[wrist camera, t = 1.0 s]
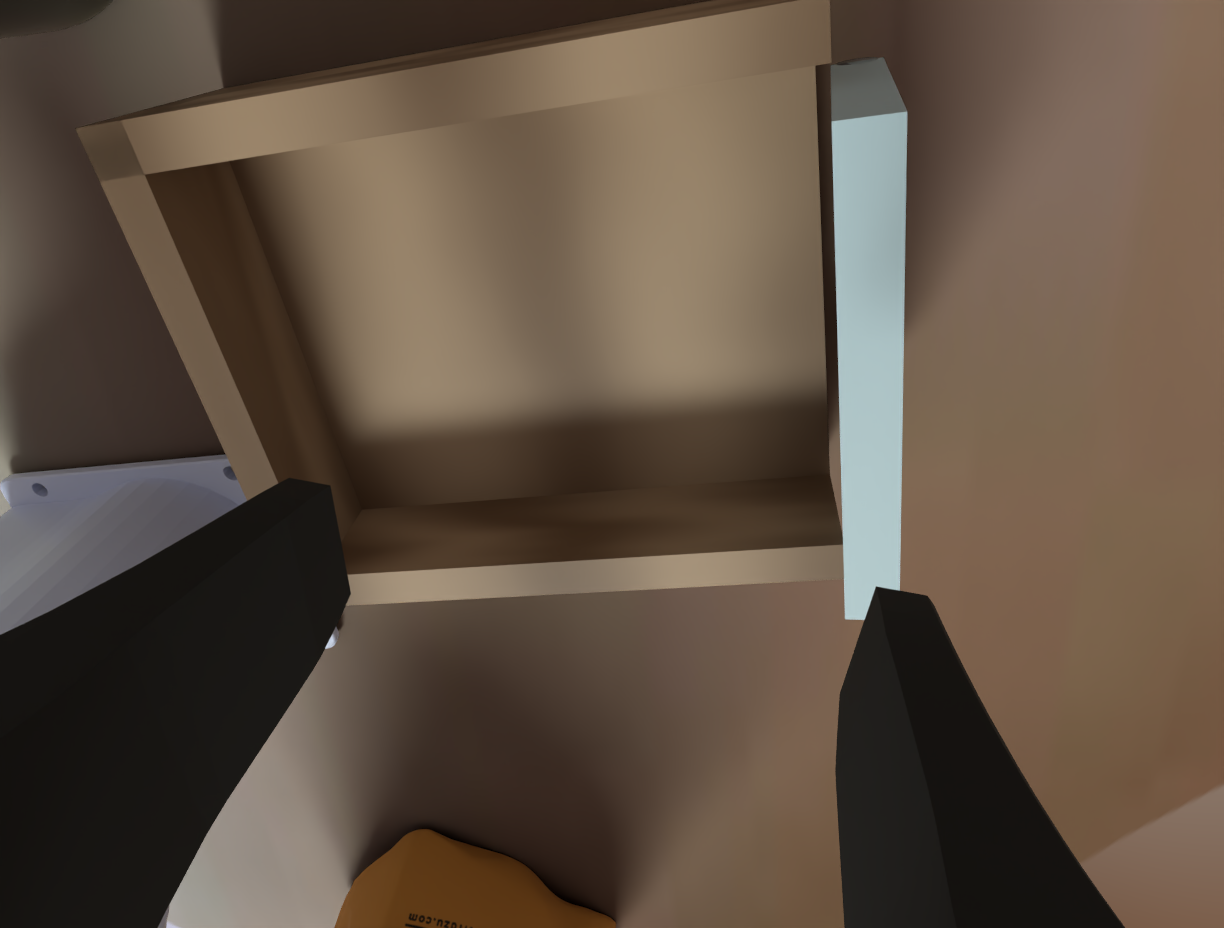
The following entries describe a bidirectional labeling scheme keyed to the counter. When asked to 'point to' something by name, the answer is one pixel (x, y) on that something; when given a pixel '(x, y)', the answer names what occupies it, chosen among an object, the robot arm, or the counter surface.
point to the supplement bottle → (45, 15)
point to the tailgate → (869, 319)
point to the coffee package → (455, 891)
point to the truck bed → (514, 299)
